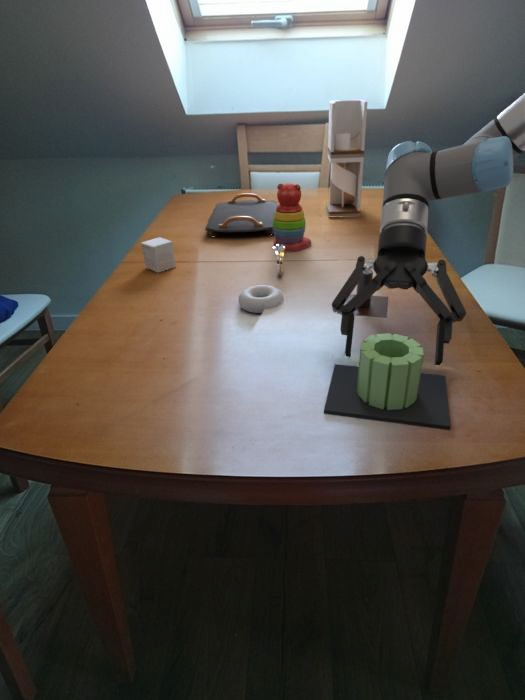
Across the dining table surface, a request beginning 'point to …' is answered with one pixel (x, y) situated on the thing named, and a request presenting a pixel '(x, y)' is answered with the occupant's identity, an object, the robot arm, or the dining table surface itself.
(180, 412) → the dining table surface
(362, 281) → the stacking stand
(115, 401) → the dining table surface
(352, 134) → the spiral ramp tower
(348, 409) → the rubber mat
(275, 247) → the ring
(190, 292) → the dining table surface
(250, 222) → the serving tray
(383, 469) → the dining table surface
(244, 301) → the donut
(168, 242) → the product box
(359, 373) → the sage ring
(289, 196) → the stacking bear
